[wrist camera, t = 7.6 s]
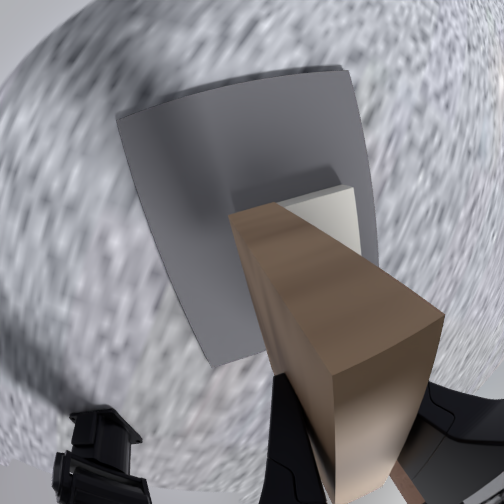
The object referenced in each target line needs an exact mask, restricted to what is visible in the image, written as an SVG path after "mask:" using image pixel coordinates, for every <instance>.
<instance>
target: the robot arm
mask: <svg viewBox="0 0 504 504" xmlns="http://www.w3.org/2000/svg"><path fill="white" fill-rule="evenodd" d="M69 418H70V420H71V421H72V422H74V423H75V427H74V432H73V436H72V441H71V444H72V445H73V447H72V452H70V451H68V450H66V451H65V453H59V452H57V453H56V456H55V461H54V466H53V476H52V487H53V489H54V490H55V492H56V496H57V503H59V504H152V501H151V497H150V493H149V489H148V485H147V481H146V479H144V478H138V477H135V476H131V475H130V458H131V444H139V443H142V438H141V437H140V436H139V435H138V434H137V433H136V432H135V431H134V430H133V429H132V428H131V427H130V426H129V425H128V424H127V423H126V422H125V421H124V420H123V419H122V418H121V417H120V416H119V415H118V413H117V412H116V411H114V410H112V409H108V410H100V411H93V412H84V413H74V414H70V416H69ZM397 461H398V462H399V464H400V465H401V467H402V468H403V470H404V471H405V472H406V474H407V475H408V477H409V478H410V480H411V481H412V483H413V484H414V486H415V487H416V488H417V490H418V491H419V493H420V494H421V496H422V497H423V498H424V500H425V501H426V503H427V504H459V503H461V502H462V501H463V502H464V504H504V399H498V400H494V399H487V398H482V397H478V396H474V395H470V394H466V393H462V392H458V391H455V390H451V389H448V388H446V387H443V386H440V385H437V384H435V383H432V382H430V381H428V384H427V387H426V390H425V393H424V396H423V399H422V402H421V404H420V407H419V410H418V412H417V415H416V418H415V420H414V423H413V425H412V427H411V430H410V432H409V434H408V437H407V439H406V441H405V443H404V446H403V448H402V450H401V452H400V454H399V456H398V458H397ZM70 472H71V473H73V474H70ZM259 504H327V500H326V496H325V492H324V489H323V485H322V481H321V478H320V474H319V471H318V467H317V463H316V460H315V456H314V453H313V449H312V446H311V442H310V438H309V435H308V431H307V428H306V424H305V421H304V417H303V414H302V410H301V406H300V403H299V400H298V397H297V395H296V393H295V391H294V389H293V387H292V385H291V383H290V382H289V380H288V378H287V376H286V374H285V373H280V374H277V375H275V376H273V385H272V400H271V414H270V428H269V440H268V452H267V462H266V471H265V479H264V484H263V489H262V493H261V497H260V500H259Z"/></svg>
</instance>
